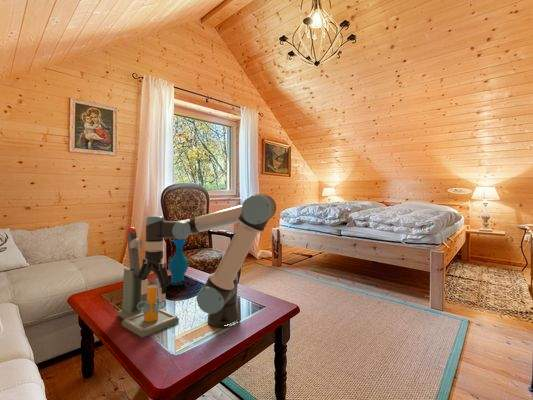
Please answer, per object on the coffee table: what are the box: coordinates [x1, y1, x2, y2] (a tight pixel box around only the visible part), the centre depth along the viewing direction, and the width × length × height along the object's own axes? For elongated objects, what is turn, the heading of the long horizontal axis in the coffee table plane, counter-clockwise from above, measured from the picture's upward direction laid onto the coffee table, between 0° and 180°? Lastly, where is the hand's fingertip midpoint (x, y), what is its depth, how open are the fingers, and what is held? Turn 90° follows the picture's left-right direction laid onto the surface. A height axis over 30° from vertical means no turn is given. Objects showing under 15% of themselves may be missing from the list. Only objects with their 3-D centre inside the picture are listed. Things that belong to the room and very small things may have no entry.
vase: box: [168, 239, 189, 286], centre depth 183 cm, size 12×13×28 cm
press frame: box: [117, 267, 180, 338], centre depth 129 cm, size 27×18×22 cm, turn 55°
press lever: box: [126, 226, 143, 277], centre depth 134 cm, size 24×5×6 cm
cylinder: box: [137, 284, 167, 322], centre depth 126 cm, size 12×10×15 cm
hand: (153, 297), depth 126 cm, fingers open, 13 cm apart
